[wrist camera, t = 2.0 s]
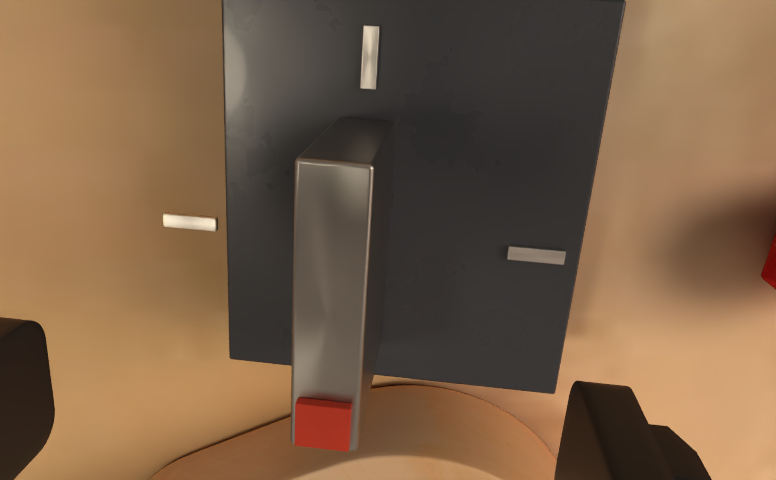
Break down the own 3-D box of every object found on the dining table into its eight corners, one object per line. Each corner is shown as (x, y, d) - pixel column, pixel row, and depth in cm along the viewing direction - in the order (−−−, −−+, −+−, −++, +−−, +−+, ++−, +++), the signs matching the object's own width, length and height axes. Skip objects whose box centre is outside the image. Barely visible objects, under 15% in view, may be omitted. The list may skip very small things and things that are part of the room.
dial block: (199, -27, 17) (148, -33, 14) (598, 0, 17) (629, -1, 14) (211, 337, 21) (172, 390, 18) (535, 371, 21) (549, 432, 18)
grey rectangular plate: (337, 116, 15) (290, 161, 11) (396, 120, 15) (373, 168, 11) (329, 339, 17) (286, 453, 13) (380, 344, 17) (355, 461, 13)
